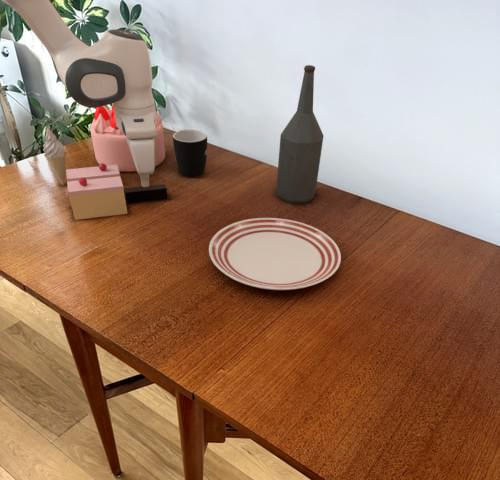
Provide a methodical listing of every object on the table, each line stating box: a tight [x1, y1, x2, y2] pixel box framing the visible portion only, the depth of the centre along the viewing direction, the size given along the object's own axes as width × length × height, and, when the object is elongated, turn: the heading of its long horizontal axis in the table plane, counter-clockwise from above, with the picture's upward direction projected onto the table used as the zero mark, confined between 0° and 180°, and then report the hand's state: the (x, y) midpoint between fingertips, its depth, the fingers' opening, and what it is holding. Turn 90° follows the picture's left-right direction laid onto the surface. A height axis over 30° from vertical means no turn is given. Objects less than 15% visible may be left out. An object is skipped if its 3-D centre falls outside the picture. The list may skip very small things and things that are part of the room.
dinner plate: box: [208, 217, 342, 291], centre depth 97 cm, size 28×27×3 cm
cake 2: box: [89, 103, 166, 173], centre depth 129 cm, size 20×20×14 cm
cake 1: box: [65, 163, 128, 221], centre depth 110 cm, size 12×12×9 cm
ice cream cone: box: [42, 125, 67, 186], centre depth 115 cm, size 5×5×15 cm
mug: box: [172, 128, 208, 178], centre depth 126 cm, size 12×9×10 cm
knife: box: [67, 183, 169, 207], centre depth 113 cm, size 23×2×4 cm, turn 108°
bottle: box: [275, 64, 324, 204], centre depth 110 cm, size 10×10×30 cm
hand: (142, 177), depth 112 cm, fingers open, 8 cm apart
